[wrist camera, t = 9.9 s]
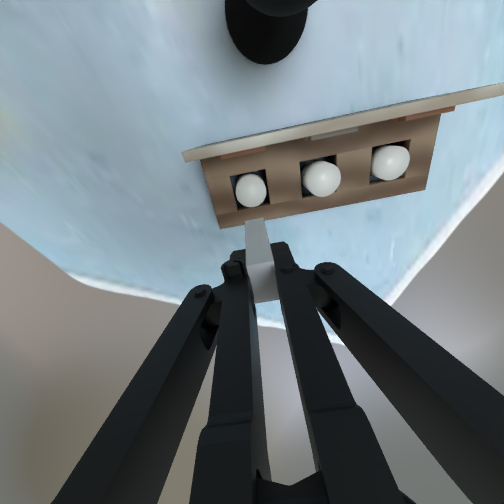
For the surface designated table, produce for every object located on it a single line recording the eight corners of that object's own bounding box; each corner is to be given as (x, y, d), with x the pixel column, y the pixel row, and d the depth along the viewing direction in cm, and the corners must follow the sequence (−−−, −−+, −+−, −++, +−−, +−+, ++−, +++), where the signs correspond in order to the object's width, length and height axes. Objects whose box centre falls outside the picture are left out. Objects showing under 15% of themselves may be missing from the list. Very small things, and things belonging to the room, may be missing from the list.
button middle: (299, 162, 31) (307, 166, 28) (330, 156, 31) (341, 159, 28) (302, 192, 33) (309, 199, 30) (330, 187, 33) (340, 193, 30)
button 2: (363, 148, 32) (378, 150, 29) (393, 142, 32) (412, 143, 28) (361, 178, 34) (375, 183, 31) (390, 172, 34) (406, 177, 30)
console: (203, 145, 34) (181, 152, 21) (411, 100, 32) (517, 79, 20) (223, 216, 39) (214, 253, 27) (399, 181, 38) (475, 205, 25)
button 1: (233, 174, 33) (232, 179, 30) (261, 169, 33) (263, 173, 29) (239, 202, 35) (239, 209, 32) (265, 197, 35) (268, 204, 32)
